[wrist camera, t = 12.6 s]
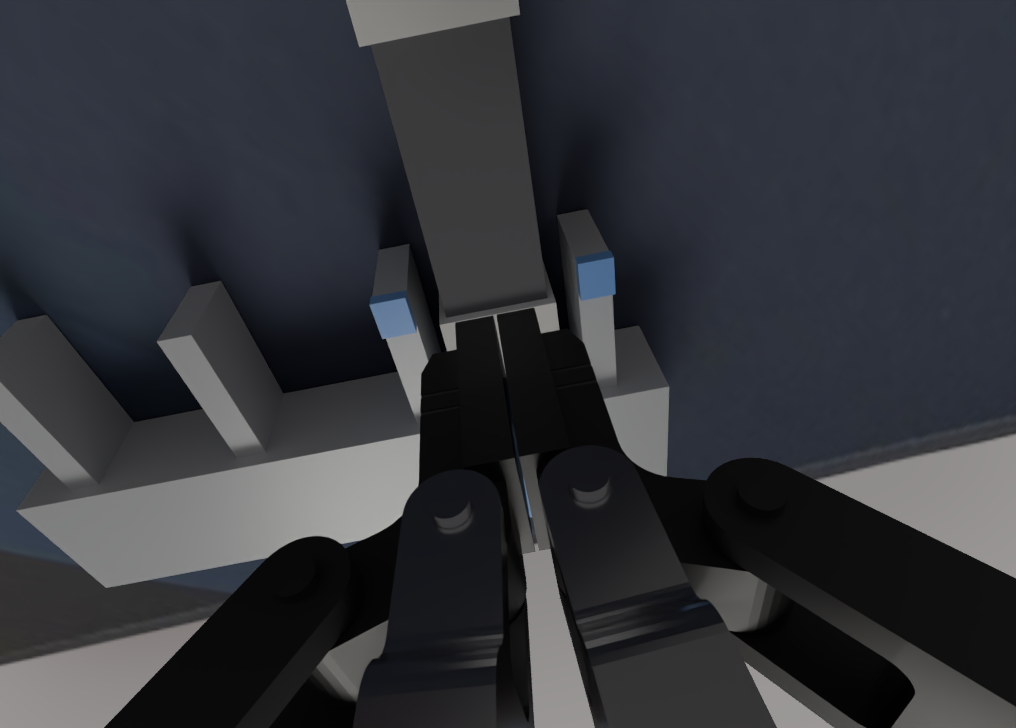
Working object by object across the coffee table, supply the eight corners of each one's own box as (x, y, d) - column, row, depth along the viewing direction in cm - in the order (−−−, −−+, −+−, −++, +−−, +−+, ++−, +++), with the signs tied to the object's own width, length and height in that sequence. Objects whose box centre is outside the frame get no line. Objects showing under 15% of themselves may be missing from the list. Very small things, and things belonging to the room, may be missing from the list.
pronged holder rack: (-34, 327, 19) (-124, 410, 16) (636, 196, 18) (678, 254, 15) (141, 513, 25) (101, 597, 22) (640, 419, 25) (669, 491, 22)
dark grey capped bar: (339, -99, 13) (317, -100, 10) (486, -130, 13) (501, -138, 10) (453, 324, 21) (457, 386, 18) (546, 306, 21) (564, 366, 18)
